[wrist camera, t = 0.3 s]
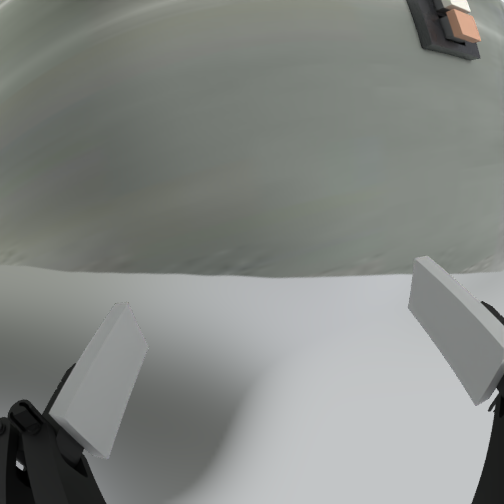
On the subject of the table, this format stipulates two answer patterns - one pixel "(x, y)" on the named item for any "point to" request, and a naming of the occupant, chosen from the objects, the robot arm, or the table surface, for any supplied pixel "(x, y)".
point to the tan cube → (459, 27)
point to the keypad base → (437, 31)
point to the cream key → (451, 6)
